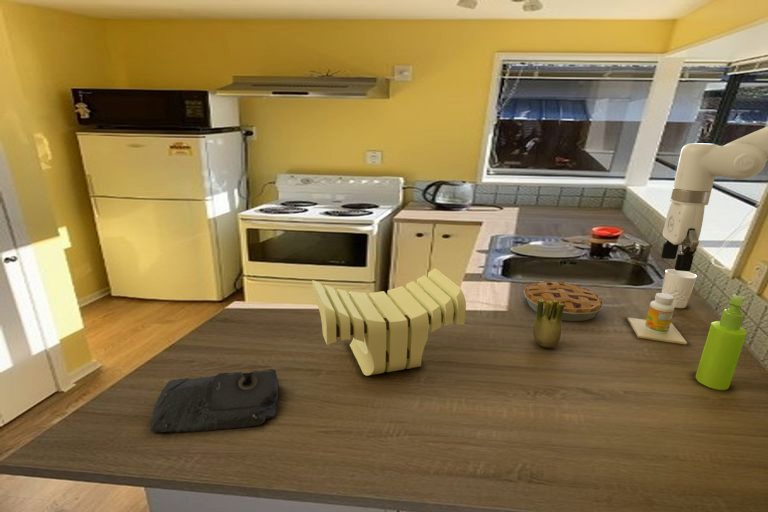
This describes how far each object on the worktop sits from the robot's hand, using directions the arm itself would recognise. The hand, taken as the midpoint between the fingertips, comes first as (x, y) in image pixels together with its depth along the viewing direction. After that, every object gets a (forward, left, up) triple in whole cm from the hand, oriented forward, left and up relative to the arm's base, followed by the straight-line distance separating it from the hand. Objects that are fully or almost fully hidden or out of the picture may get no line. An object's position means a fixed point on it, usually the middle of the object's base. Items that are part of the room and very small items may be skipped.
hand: (674, 264), depth 107 cm
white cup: (-11, -22, -19) cm, 31 cm away
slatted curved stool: (+65, +35, -19) cm, 77 cm away
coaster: (0, 0, -19) cm, 19 cm away
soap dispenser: (-4, +22, -19) cm, 30 cm away
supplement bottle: (0, 0, -19) cm, 19 cm away
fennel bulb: (+29, +17, -19) cm, 39 cm away
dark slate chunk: (+91, +60, -19) cm, 111 cm away
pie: (+23, -8, -19) cm, 31 cm away
